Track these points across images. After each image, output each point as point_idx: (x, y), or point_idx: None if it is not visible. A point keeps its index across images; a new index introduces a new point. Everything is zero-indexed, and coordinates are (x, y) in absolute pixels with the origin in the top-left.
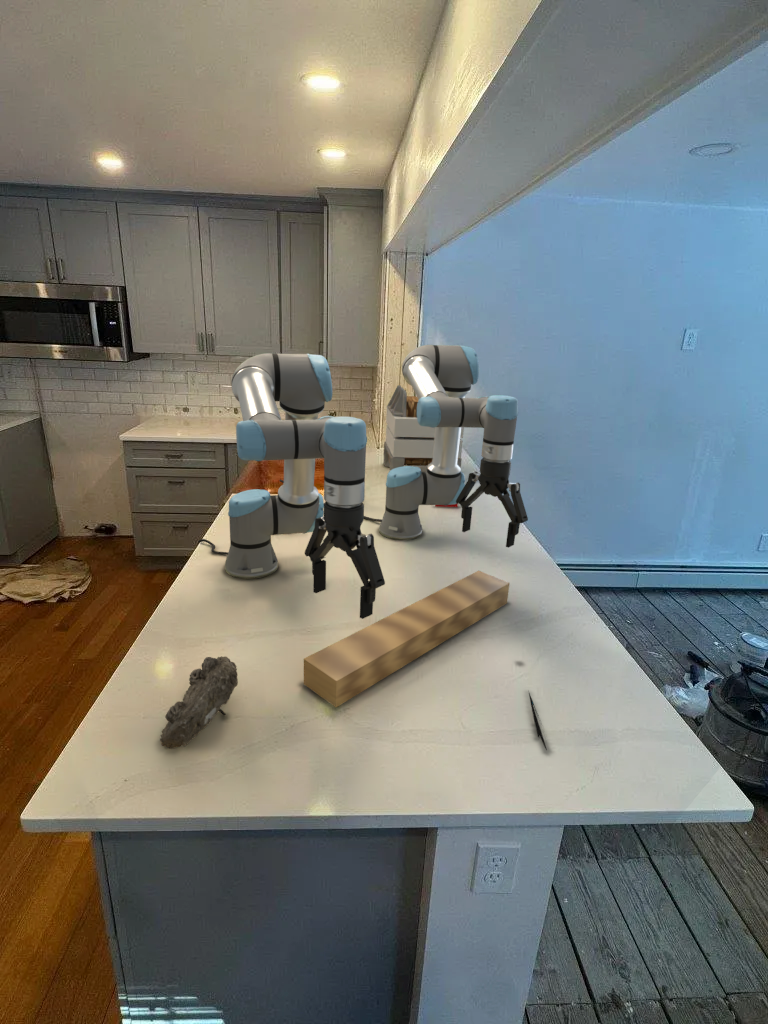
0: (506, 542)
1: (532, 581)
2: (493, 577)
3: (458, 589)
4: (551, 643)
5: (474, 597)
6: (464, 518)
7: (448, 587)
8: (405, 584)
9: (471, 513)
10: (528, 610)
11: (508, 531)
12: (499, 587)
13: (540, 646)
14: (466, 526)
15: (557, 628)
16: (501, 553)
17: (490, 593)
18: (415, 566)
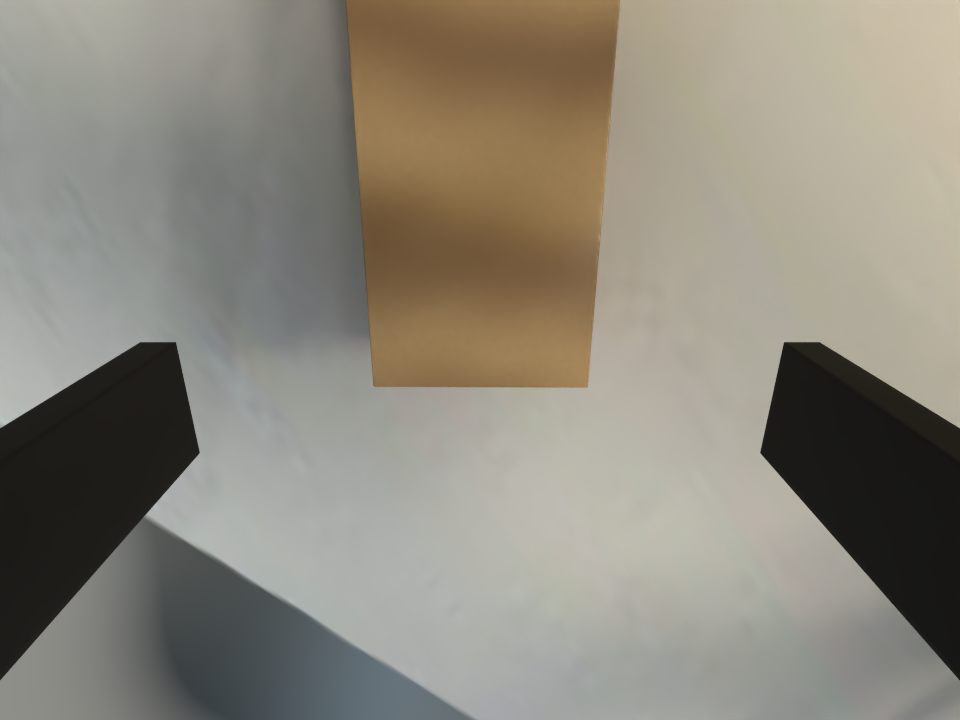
0: (139, 362)
1: (437, 578)
2: (475, 376)
3: (533, 62)
4: (29, 172)
5: (392, 49)
6: (937, 432)
7: (600, 31)
8: (907, 106)
9: (907, 610)
10: (289, 356)
11: (9, 444)
12: (374, 294)
13: (34, 104)
14: (813, 406)
15: (110, 313)
16: (670, 688)
17: (360, 184)
18: (954, 325)
